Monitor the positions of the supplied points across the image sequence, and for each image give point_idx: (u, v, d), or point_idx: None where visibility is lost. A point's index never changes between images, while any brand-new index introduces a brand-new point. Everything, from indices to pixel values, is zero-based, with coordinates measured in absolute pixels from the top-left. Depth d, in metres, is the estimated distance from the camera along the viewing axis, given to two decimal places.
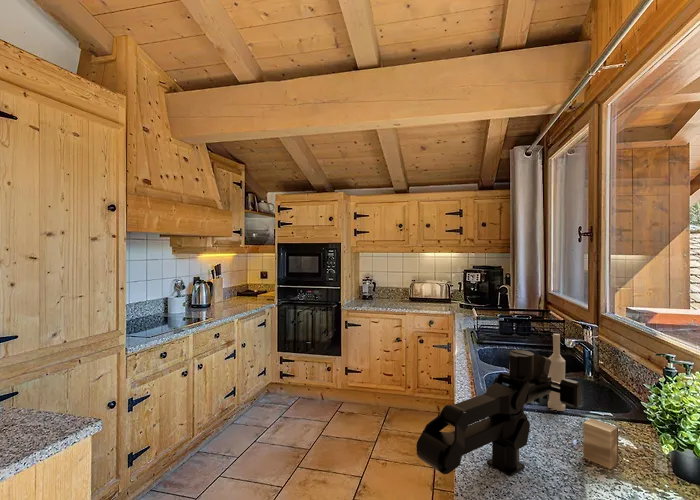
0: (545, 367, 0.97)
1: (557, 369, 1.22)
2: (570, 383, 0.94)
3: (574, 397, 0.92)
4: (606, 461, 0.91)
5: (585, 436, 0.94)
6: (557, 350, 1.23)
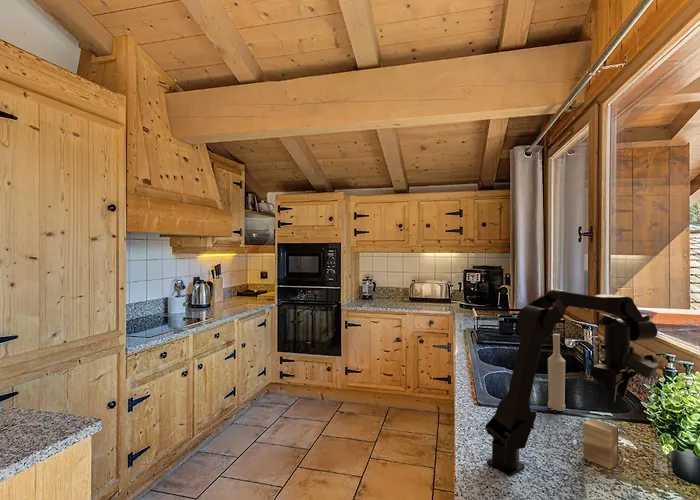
0: (639, 364, 0.93)
1: (557, 369, 1.22)
2: (616, 373, 0.92)
3: (600, 368, 0.94)
4: (606, 461, 0.91)
5: (585, 436, 0.94)
6: (557, 350, 1.23)
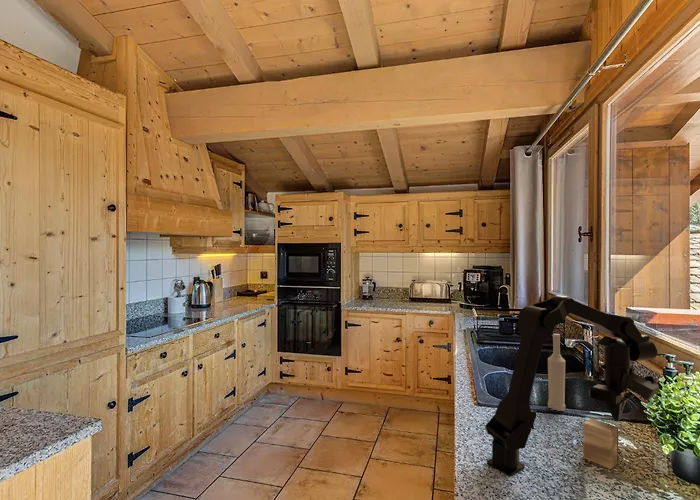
0: (639, 385, 0.93)
1: (557, 369, 1.22)
2: (616, 394, 0.92)
3: (600, 389, 0.94)
4: (606, 461, 0.91)
5: (585, 436, 0.94)
6: (557, 350, 1.23)
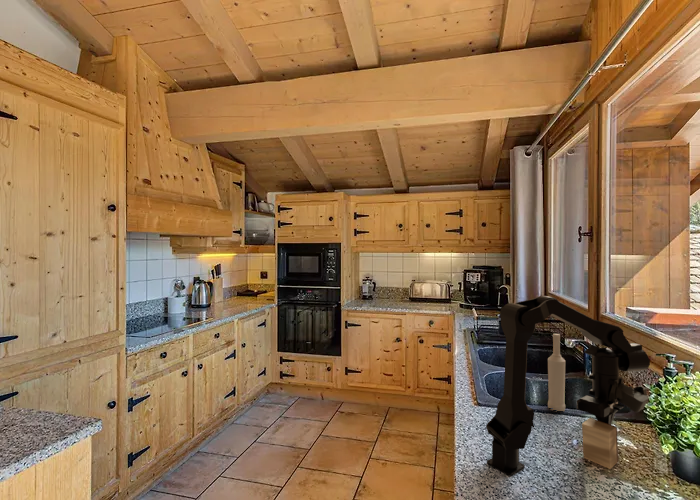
0: (628, 397, 0.89)
1: (557, 369, 1.22)
2: (604, 407, 0.89)
3: (588, 402, 0.91)
4: (606, 461, 0.90)
5: (584, 437, 0.94)
6: (557, 350, 1.23)
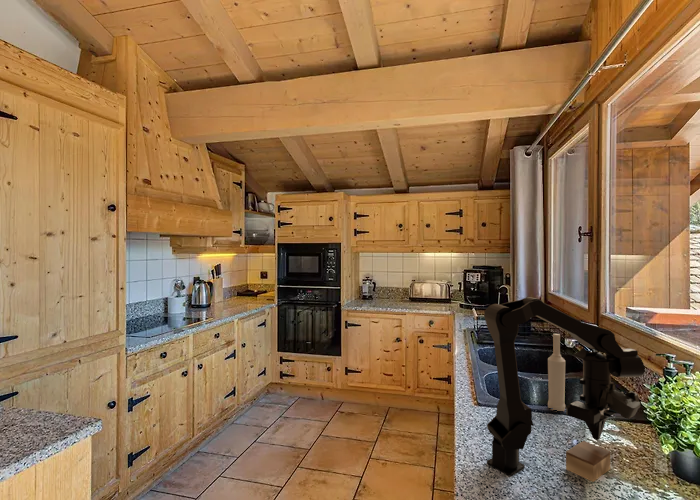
0: (619, 403, 0.86)
1: (557, 369, 1.22)
2: (594, 413, 0.86)
3: (578, 407, 0.88)
4: None
5: None
6: (557, 350, 1.23)
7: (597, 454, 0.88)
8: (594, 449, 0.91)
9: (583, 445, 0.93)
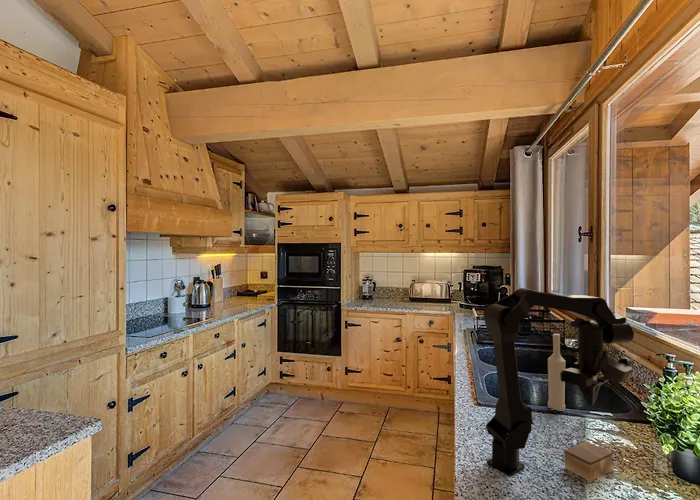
0: (611, 368, 0.89)
1: (557, 369, 1.22)
2: (587, 377, 0.89)
3: (571, 372, 0.91)
4: None
5: None
6: (557, 350, 1.23)
7: (597, 454, 0.88)
8: (595, 449, 0.91)
9: (584, 445, 0.93)
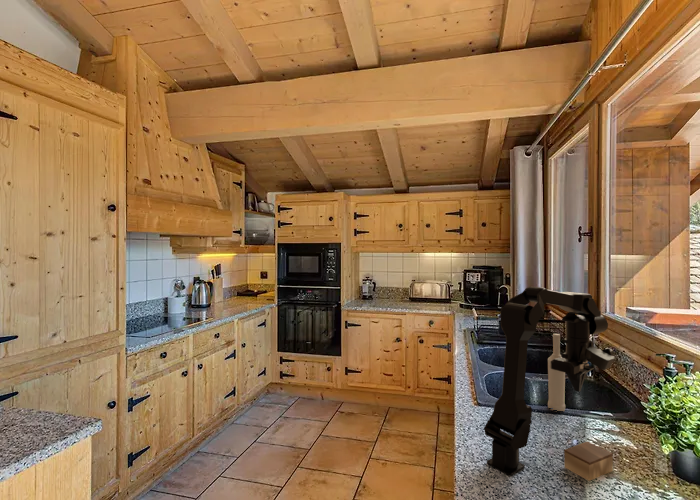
0: (596, 357, 0.99)
1: None
2: (574, 365, 0.99)
3: (560, 361, 1.01)
4: None
5: None
6: (557, 350, 1.23)
7: (596, 454, 0.88)
8: (595, 450, 0.90)
9: (585, 445, 0.93)
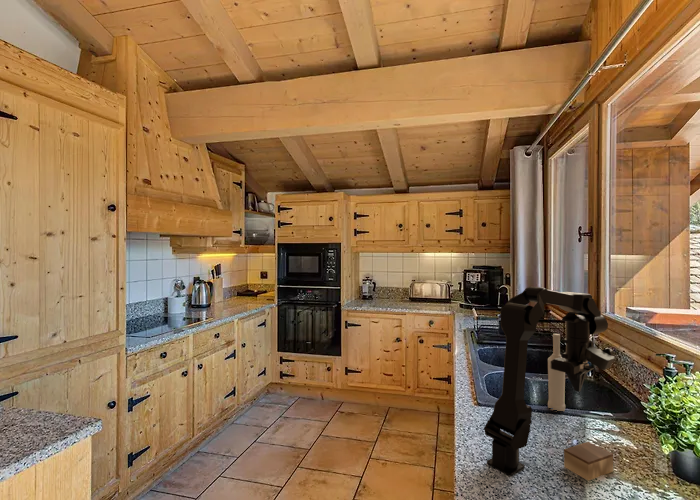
0: (596, 357, 0.99)
1: None
2: (574, 365, 0.99)
3: (560, 361, 1.01)
4: None
5: None
6: (557, 350, 1.23)
7: (596, 454, 0.88)
8: (596, 450, 0.90)
9: (585, 445, 0.92)
